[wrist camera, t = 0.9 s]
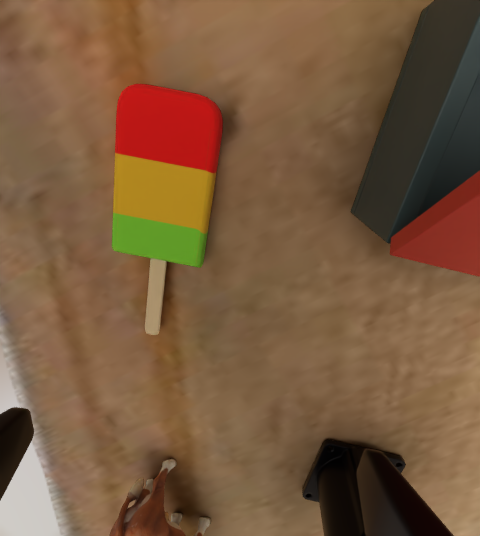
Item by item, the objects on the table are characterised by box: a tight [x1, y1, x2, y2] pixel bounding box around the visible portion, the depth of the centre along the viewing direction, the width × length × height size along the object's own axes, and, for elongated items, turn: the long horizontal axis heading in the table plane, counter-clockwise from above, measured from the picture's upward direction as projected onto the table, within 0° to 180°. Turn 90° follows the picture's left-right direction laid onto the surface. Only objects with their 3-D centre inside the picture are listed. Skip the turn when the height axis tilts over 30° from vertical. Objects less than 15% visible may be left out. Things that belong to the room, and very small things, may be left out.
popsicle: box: [112, 84, 223, 335], centre depth 20 cm, size 6×15×2 cm, turn 170°
